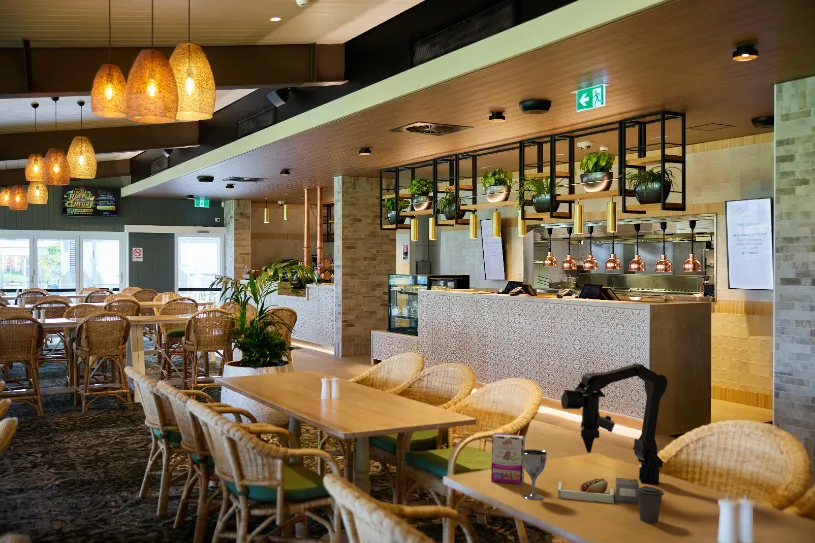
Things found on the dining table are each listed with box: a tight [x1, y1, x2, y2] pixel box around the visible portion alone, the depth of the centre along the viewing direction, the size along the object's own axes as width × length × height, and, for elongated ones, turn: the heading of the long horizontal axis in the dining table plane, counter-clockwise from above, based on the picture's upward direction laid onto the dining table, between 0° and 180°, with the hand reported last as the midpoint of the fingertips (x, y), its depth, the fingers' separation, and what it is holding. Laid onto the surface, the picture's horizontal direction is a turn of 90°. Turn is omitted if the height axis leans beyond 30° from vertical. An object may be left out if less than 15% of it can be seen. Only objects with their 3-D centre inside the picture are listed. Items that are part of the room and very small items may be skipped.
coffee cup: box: [637, 485, 665, 525], centre depth 238 cm, size 8×8×10 cm
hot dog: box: [579, 477, 609, 494], centre depth 263 cm, size 5×13×5 cm, turn 136°
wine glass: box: [521, 448, 548, 501], centre depth 259 cm, size 8×8×15 cm
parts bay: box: [557, 481, 615, 504], centre depth 263 cm, size 18×11×2 cm, turn 77°
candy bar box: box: [490, 433, 526, 485], centre depth 277 cm, size 11×5×16 cm, turn 73°
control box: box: [613, 477, 640, 505], centre depth 260 cm, size 8×9×6 cm
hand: (588, 452), depth 278 cm, fingers closed
